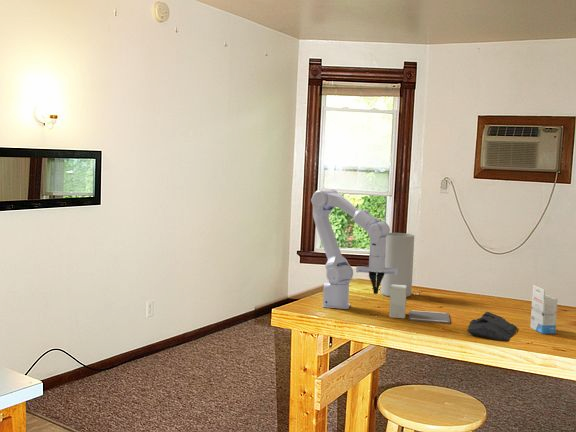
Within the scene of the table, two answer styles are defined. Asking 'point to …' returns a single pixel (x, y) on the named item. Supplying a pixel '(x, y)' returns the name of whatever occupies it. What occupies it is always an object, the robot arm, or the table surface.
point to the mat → (429, 316)
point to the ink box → (543, 312)
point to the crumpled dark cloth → (492, 327)
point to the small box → (397, 301)
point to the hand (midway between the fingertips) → (375, 293)
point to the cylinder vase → (398, 262)
